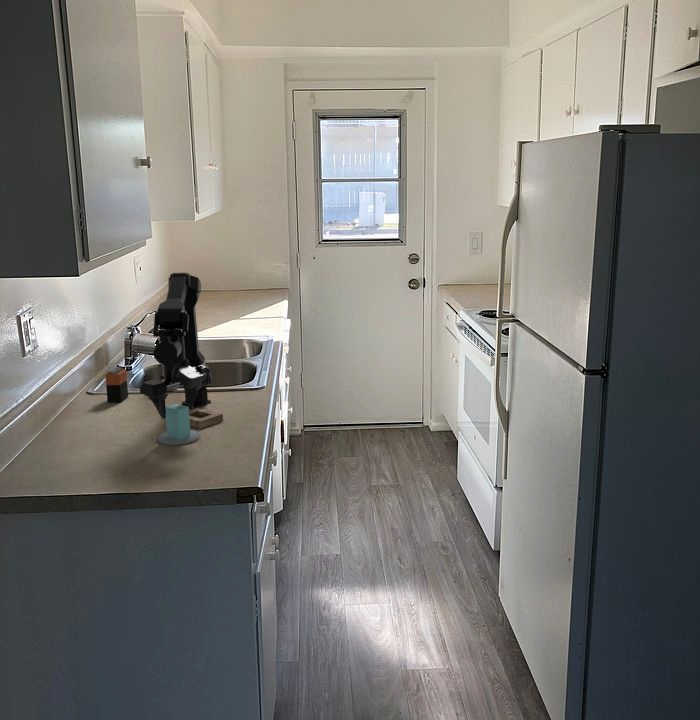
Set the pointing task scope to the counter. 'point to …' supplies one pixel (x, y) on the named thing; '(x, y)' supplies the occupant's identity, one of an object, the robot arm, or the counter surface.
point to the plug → (177, 421)
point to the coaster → (173, 441)
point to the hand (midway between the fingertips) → (177, 413)
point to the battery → (116, 385)
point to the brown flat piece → (204, 417)
